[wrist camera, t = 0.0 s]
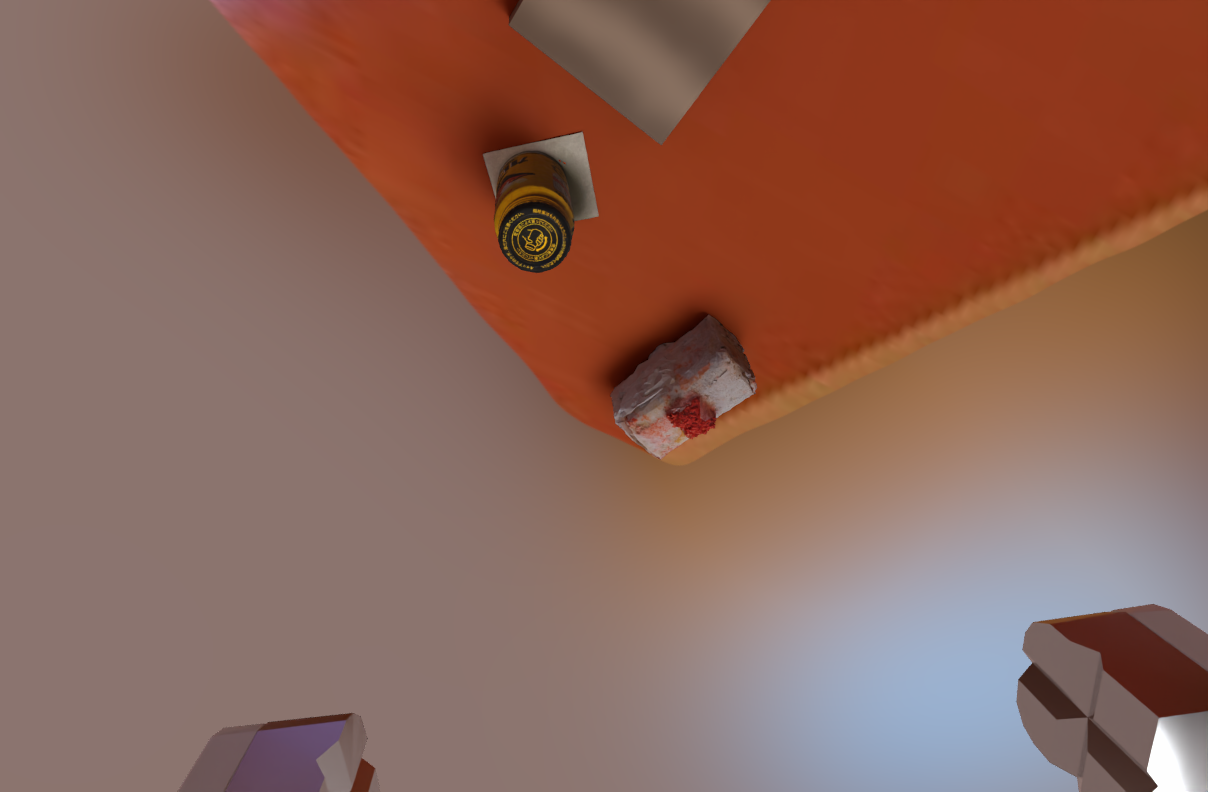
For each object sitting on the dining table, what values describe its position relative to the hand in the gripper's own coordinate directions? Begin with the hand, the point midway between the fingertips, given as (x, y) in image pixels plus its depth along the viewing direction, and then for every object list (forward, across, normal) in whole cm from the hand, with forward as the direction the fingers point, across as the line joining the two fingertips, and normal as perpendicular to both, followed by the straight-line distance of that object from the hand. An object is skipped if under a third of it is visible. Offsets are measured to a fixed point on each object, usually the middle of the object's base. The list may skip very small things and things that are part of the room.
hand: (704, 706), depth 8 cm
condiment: (+53, +2, -6) cm, 54 cm away
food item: (+60, -10, +13) cm, 62 cm away
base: (+48, -7, -19) cm, 53 cm away
